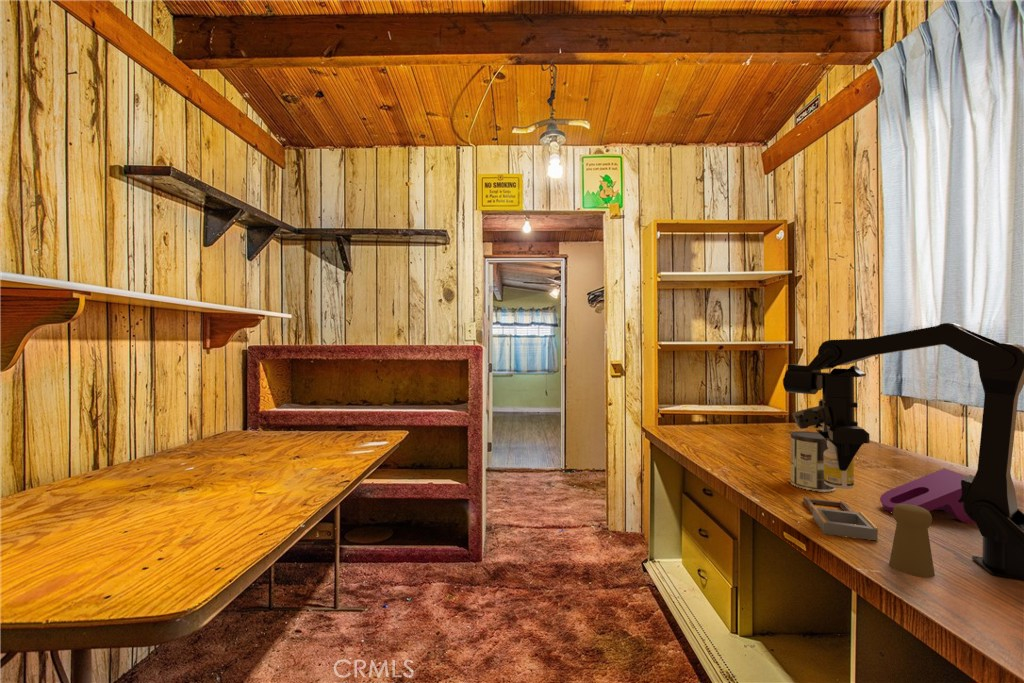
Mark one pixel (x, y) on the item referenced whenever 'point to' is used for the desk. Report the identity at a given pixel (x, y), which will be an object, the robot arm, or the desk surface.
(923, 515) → the cork
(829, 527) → the socket plate
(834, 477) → the supplement bottle
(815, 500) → the frame
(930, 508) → the mounting bracket
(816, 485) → the coffee can
